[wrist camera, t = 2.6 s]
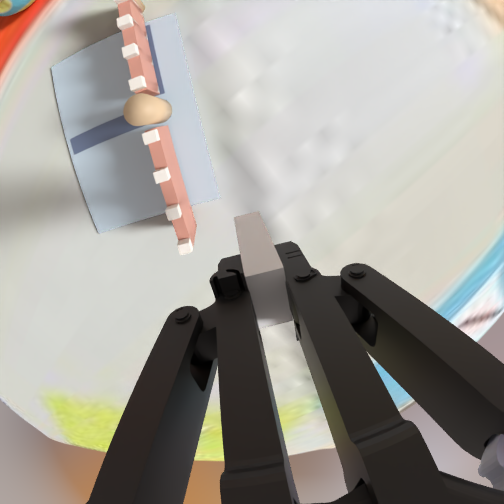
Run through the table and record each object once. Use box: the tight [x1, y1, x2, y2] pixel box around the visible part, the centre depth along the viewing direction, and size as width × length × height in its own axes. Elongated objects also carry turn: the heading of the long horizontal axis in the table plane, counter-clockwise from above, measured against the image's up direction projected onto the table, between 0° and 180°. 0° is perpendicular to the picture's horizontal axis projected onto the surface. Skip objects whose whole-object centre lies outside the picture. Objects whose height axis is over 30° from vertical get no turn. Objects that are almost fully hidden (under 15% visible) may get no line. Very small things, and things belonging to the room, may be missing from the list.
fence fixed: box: [114, 0, 172, 126], centre depth 17 cm, size 14×2×8 cm, turn 13°
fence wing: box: [142, 125, 197, 255], centre depth 23 cm, size 10×1×6 cm, turn 13°
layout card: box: [51, 13, 221, 234], centre depth 22 cm, size 20×14×1 cm
